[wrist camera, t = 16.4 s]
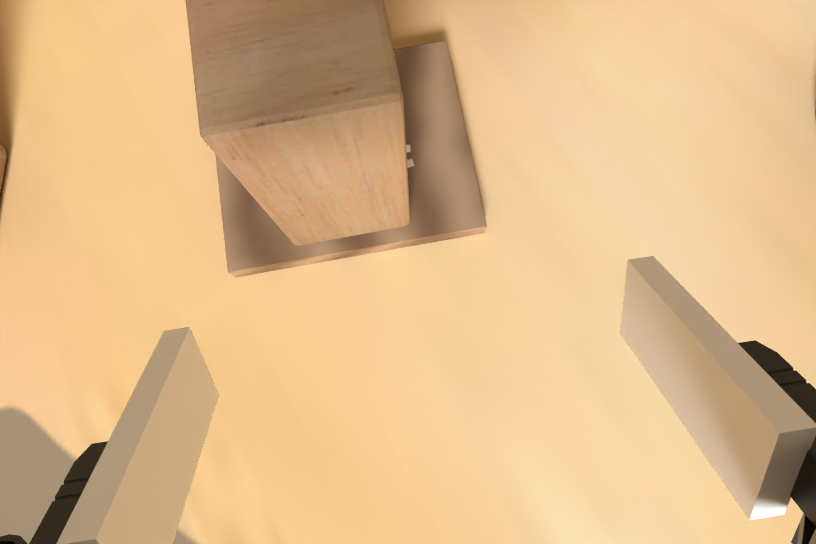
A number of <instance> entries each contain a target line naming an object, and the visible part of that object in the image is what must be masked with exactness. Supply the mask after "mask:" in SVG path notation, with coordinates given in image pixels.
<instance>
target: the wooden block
mask: <svg viewBox="0 0 816 544" xmlns="http://www.w3.org/2000/svg"><path fill="white" fill-rule="evenodd" d="M186 8H187V17H188V26H189V36H190V45H191V54H192V63H193V73H194V82H195V91H196V100H197V110H198V119H199V128H200V135H201V136H202V138H203V140H204V141H205V142H206V143H207V145H208V146H209V147H210V148H211V149H212V150H213V151H214V153H215V154H216V155H217V156H218V157H219V158H220V160H221V161H222V162H223V163H224V164H225V165H226V166H227V168H228V169H229V170H230V171H231V172H232V173H233V174H234V176H235V177H236V178H237V179H238V180H239V181H240V183H241V184H242V185H243V186H244V187H245V188H246V189H247V191H248V192H249V193H250V194H251V195H252V196H253V197H254V199H255V200H256V201H257V202H258V203H259V204H260V206H261V207H262V208H263V209H264V210H265V211H266V212H267V214H268V215H269V216H270V217H271V218H272V219H273V221H274V222H275V223H276V224H277V225H278V226H279V227H280V229H281V230H282V231H283V232H284V233H285V234H286V235H287V237H288V238H289V239H290V240H291V241H292V242H293V244H294V245H298V246H301V245H306V244H311V243H317V242H322V241H328V240H333V239H339V238H344V237H349V236H355V235H360V234H366V233H371V232H377V231H382V230H387V229H393V228H398V227H404V226H407V225H408V224H409V223H410V204H409V187H408V170H407V153H406V135H405V118H404V101H403V94H402V89H401V84H400V79H399V74H398V69H397V64H396V59H395V54H394V49H393V44H392V39H391V35H390V30H389V25H388V20H387V15H386V10H385V5H384V0H186Z"/></svg>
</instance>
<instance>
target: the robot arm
mask: <svg viewBox="0 0 816 544" xmlns="http://www.w3.org/2000/svg"><path fill="white" fill-rule="evenodd" d="M620 333H621V335H622V336H623V338H624V339H625V341H626V342H627V344H628V345H629V346H630V348H631V349H632V351H633V352H634V354H635V355H636V357H637V358H638V360H639V361H640V362H641V364H642V365H643V367H644V368H645V370H646V371H647V373H648V374H649V375H650V377H651V378H652V380H653V381H654V383H655V384H656V386H657V387H658V389H659V390H660V391H661V393H662V394H663V396H664V397H665V399H666V400H667V402H668V403H669V404H670V406H671V407H672V409H673V410H674V412H675V413H676V415H677V416H678V417H679V419H680V420H681V422H682V423H683V425H684V426H685V428H686V429H687V431H688V432H689V433H690V435H691V436H692V438H693V439H694V441H695V442H696V444H697V445H698V446H699V448H700V449H701V451H702V452H703V454H704V455H705V457H706V458H707V459H708V461H709V462H710V464H711V465H712V467H713V468H714V470H715V471H716V473H717V474H718V475H719V477H720V478H721V480H722V481H723V483H724V484H725V486H726V487H727V488H728V490H729V491H730V493H731V494H732V496H733V497H734V499H735V500H736V502H737V503H738V504H739V506H740V507H741V509H742V510H743V512H744V513H745V515H746V516H747V517H748V519H749V520H752V519H759V518H765V517H772V516H778V515H784V513H785V511H786V508H787V506H788V503H789V501H790V498H791V497H792V499H793V500H794V501H795V502H796V504H797V505H798V506H799V507H800V509H801V510H802V511H803V512H804V514H803V516H802V518H801V521H800V523H799V525H798V528H797V530H796V532H795V535H794V537H793V539H792V542H791V543H793V544H816V389H815V388H814V387H813V386H812V385H811V384H810V383H808V384H807V383H806V380H805V379H804V378H803V377H802V376H801V375H800V374H799V373H798V372H797V371H794V370H793V367H792V366H791V365H790V364H789V363H788V362H787V361H786V360H784V359H783V358H782V357H781V356H780V355H779V354H778V353H777V352H775V351H773V350H772V349H770V348H768V347H766V346H764V345H762V344H761V343H759V342H757V341H749V342H742V343H737V342H736V341H735V340H734V339H733V338H732V337H731V336H730V335H729V334H728V333H727V332H726V331H725V330H724V329H723V328H722V326H721V325H720V324H719V323H718V322H717V321H716V320H715V319H714V318H713V317H712V316H711V315H710V314H709V313H708V312H707V311H706V310H705V309H704V308H703V307H702V306H701V305H700V304H699V303H698V302H697V301H696V300H695V299H694V298H693V297H692V296H691V295H690V294H689V293H688V292H687V290H686V289H685V288H684V287H683V286H682V285H681V284H680V283H679V282H678V281H677V280H676V279H675V278H674V277H673V276H672V275H671V274H670V273H669V272H668V271H667V270H666V269H665V268H664V267H663V266H662V265H661V264H660V263H659V262H658V261H657V260H656V259H655V258H654V257H653V256H651V257H644V258H637V259H631V260H628V261H627V271H626V281H625V290H624V300H623V309H622V319H621V329H620ZM218 395H219V394H218V392H217V389H216V387H215V385H214V382H213V380H212V378H211V375H210V373H209V371H208V368H207V366H206V364H205V361H204V359H203V357H202V354H201V352H200V350H199V348H198V345H197V343H196V341H195V338H194V336H193V334H192V331H191V329H190V327H187V328H180V329H174V330H167V331H164V332H163V334H162V336H161V338H160V340H159V342H158V344H157V346H156V348H155V350H154V352H153V354H152V356H151V358H150V360H149V362H148V364H147V366H146V368H145V370H144V372H143V374H142V376H141V377H140V379H139V381H138V383H137V385H136V387H135V389H134V391H133V393H132V395H131V397H130V399H129V401H128V403H127V405H126V407H125V409H124V411H123V413H122V415H121V417H120V419H119V421H118V423H117V425H116V427H115V429H114V431H113V433H112V435H111V437H110V439H109V441H108V442H101V443H95V444H91V445H90V446H89V447H88V448H87V450H86V451H85V452H84V453H83V454H82V455H81V456H80V457H79V458H78V459H77V460H76V461H75V462H74V464H73V466H72V468H71V469H70V472H69V473H68V475H67V476H66V478H65V480H64V485H61V487H60V489H59V491H58V493H57V494H56V496H55V501H53V502H52V504H51V506H50V507H49V509H48V511H47V513H46V514H45V516H44V518H43V520H42V522H41V524H40V525H39V527H38V529H37V531H36V533H35V534H34V536H33V538H32V540H31V542H30V544H173V541H174V537H175V534H176V531H177V528H178V525H179V521H180V518H181V515H182V512H183V508H184V505H185V502H186V499H187V495H188V492H189V489H190V486H191V483H192V479H193V476H194V473H195V470H196V466H197V463H198V460H199V457H200V454H201V450H202V447H203V444H204V441H205V437H206V434H207V431H208V428H209V425H210V421H211V418H212V415H213V412H214V408H215V405H216V402H217V399H218ZM0 544H27V543H26V542H25V541H24V540H23V538H22V537H20V536H17V535H10V534H9V535H6V536H1V537H0Z"/></svg>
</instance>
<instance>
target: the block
mask: <svg viewBox="0 0 816 544" xmlns="http://www.w3.org/2000/svg"><path fill="white" fill-rule="evenodd" d="M6 158H7V155H6V151H5V149H4V148H3V146H2V145H0V193H1V187H2V181H3V175H4V170H5V164H6Z"/></svg>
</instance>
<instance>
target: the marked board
mask: <svg viewBox="0 0 816 544" xmlns="http://www.w3.org/2000/svg"><path fill="white" fill-rule="evenodd" d="M394 54H395V59H396V64H397V69H398V74H399V79H400V84H401V89H402V94H403V101H404V118H405V135H406V153H407V170H408V187H409V204H410V223H409V224H408V225H407V226H404V227H398V228H393V229H387V230H382V231H377V232H371V233H366V234H360V235H355V236H349V237H344V238H339V239H333V240H328V241H322V242H317V243H311V244H306V245H301V246H298V245H294V244H293V242H292V241H291V240H290V239H289V238H288V237H287V235H286V234H285V233H284V232H283V231H282V230H281V229H280V227H279V226H278V225H277V224H276V223H275V222H274V221H273V219H272V218H271V217H270V216H269V215H268V214H267V212H266V211H265V210H264V209H263V208H262V207H261V206H260V204H259V203H258V202H257V201H256V200H255V199H254V197H253V196H252V195H251V194H250V193H249V192H248V191H247V189H246V188H245V187H244V186H243V185H242V184H241V183H240V181H239V180H238V179H237V178H236V177H235V176H234V174H233V173H232V172H231V171H230V170H229V169H228V168H227V166H226V165H225V164H224V163H223V162H222V161H221V160H220V158H219V157H218V156H217V155H216V154H215V155H216V164H217V174H218V183H219V192H220V202H221V211H222V221H223V230H224V239H225V249H226V258H227V268H228V273H230V274H232V275H233V276H235V277H240V276H245V275H251V274H256V273H262V272H268V271H273V270H279V269H285V268H290V267H296V266H301V265H307V264H313V263H318V262H324V261H329V260H335V259H341V258H346V257H352V256H358V255H363V254H369V253H374V252H380V251H386V250H391V249H397V248H402V247H408V246H414V245H419V244H425V243H431V242H436V241H442V240H447V239H453V238H459V237H464V236H470V235H475V234H481V233H484V232H485V229H486V227H487V224H486V220H485V215H484V211H483V206H482V202H481V197H480V193H479V188H478V184H477V179H476V175H475V170H474V165H473V161H472V156H471V152H470V147H469V143H468V138H467V134H466V129H465V125H464V120H463V116H462V111H461V106H460V102H459V97H458V93H457V88H456V84H455V79H454V75H453V70H452V66H451V61H450V57H449V52H448V48H447V43H446V41H442V42H436V43H430V44H424V45H419V46H413V47H407V48H401V49H395V50H394Z"/></svg>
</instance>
